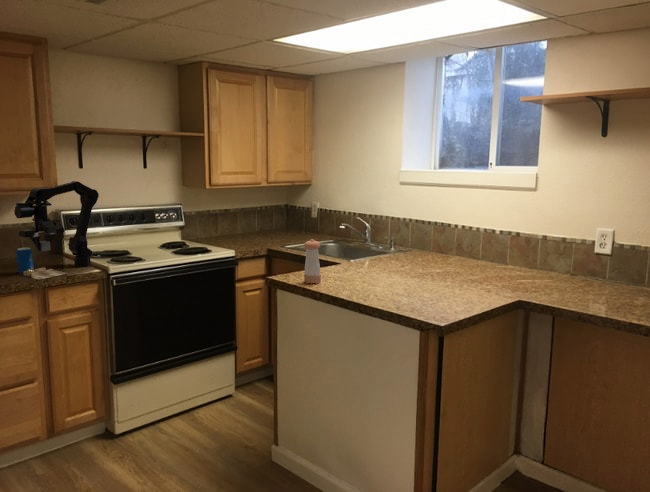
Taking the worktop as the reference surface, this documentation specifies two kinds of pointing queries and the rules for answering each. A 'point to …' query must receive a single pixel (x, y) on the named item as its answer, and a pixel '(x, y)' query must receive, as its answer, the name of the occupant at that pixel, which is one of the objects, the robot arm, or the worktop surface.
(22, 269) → the beverage can
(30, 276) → the brass knob strip
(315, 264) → the pepper shaker
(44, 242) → the block
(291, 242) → the worktop surface
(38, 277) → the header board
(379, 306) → the worktop surface
